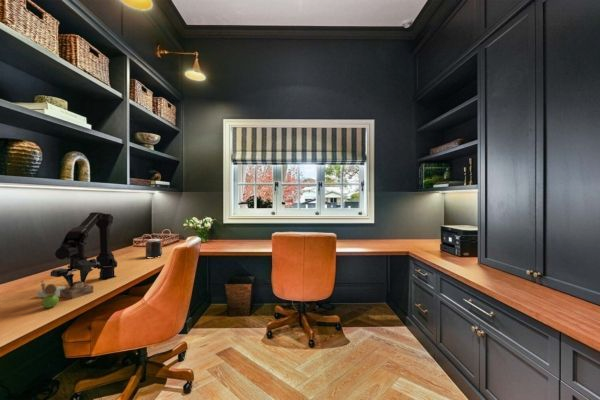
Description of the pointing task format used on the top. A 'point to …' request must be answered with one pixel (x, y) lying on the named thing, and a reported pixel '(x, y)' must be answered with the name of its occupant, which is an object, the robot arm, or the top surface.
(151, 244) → the jar
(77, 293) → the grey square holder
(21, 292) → the top surface
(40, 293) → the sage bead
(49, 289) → the snail figurine
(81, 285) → the peg
